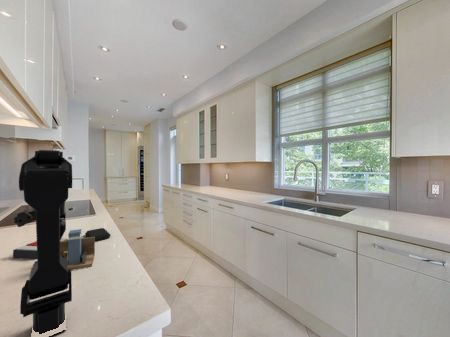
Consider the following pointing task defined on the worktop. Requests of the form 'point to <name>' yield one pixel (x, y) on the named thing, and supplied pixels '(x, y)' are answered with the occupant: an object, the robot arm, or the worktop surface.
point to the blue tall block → (74, 246)
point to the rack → (86, 252)
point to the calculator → (28, 251)
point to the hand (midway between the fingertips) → (53, 247)
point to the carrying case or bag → (98, 234)
